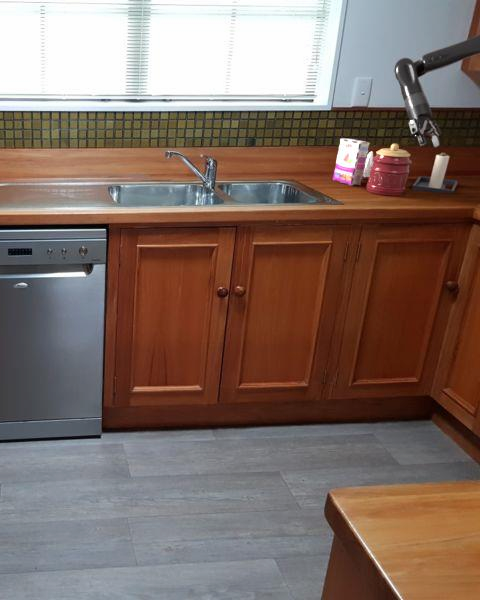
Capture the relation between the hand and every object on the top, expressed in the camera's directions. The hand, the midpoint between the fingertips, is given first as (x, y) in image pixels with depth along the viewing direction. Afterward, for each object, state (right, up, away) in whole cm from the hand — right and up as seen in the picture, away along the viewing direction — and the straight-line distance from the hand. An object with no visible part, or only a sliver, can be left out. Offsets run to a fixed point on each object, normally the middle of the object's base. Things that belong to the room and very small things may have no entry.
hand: (430, 145), depth 228 cm
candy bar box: (-27, -12, +10) cm, 32 cm away
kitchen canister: (-19, -18, -4) cm, 27 cm away
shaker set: (-15, -9, +18) cm, 25 cm away
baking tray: (+5, -15, +6) cm, 17 cm away
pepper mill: (+5, -14, +6) cm, 16 cm away
